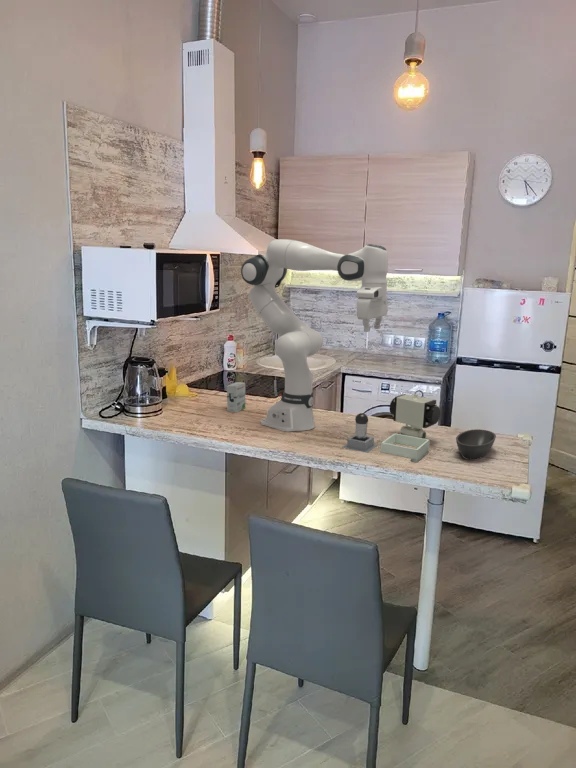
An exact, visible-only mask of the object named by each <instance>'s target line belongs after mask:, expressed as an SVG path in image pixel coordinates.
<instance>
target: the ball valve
mask: <svg viewBox="0 0 576 768" xmlns="http://www.w3.org/2000/svg"><path fill="white" fill-rule="evenodd" d="M418 395H419V394H417V393H413V395H412V394H406V393H402V394H400V395H397V396H395V397H394V398H393V399H391V401H390V404H389V412H390V414H391V415H392V417H393V418H392V419H393V420H392V421H393V422H397V423H400V424H404V425H403V426H401V428H400V431H399V434H401V435H406V436H412V437H417V438H423V439H427V438H426V436H427V432H426V431H425V430H424V429H427V428H429V427H432V426H434V425H436V424H437V423H438V422H439V420H440V418H441V407H439V406H438V404H437V400H436V399H432V398H427V397H422V396H418Z"/></svg>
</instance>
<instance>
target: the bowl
mask: <svg viewBox="0 0 576 768" xmlns="http://www.w3.org/2000/svg"><path fill="white" fill-rule="evenodd" d="M496 437H497V436H496V434H495V433H494V432H492V431H491V430H486V429H478V428H477V429H468V430H465V431H463V432H460V433H459V434H458V435H456V437H455V442H456V446H457V449H458V451H459V453H460V455H461V456H462V457H463V458H464V459H467V460H479V459H482V458H484V457H485V456H487V455H488V453H489V452H490V450H491V449H492V447H493V446H494V443H495V442H496V441H495V440H496V439H497V438H496Z"/></svg>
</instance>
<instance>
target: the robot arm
mask: <svg viewBox="0 0 576 768" xmlns="http://www.w3.org/2000/svg"><path fill="white" fill-rule="evenodd" d="M388 255H389V254H388V250H387V248H386V247H384V246H382V245H378V244H372V243H367V244H365V246H364V247H362V248H361V249H358V250H357V251H354V252H350V253H348V254H343V253H336V252H331V251H328V250H326V249H323V248H320V247H318V246H315V245H312V244H309V243H306V242H304V241H299V240H295V239H286V238H282V239H280V238H278V239H273V240H271V242H270V243H269V244H268V245H267V248H266V252H265V254H263V255H262V254H257V255H254V256H253V257H250V258H248V259H247V260H244V262H243V263H242V265H241V267H240V275H241V278H242V279H243V281H244V282H245V283H247V284H248V285H251V286H253V287H252V288H251V289H250V291H249V293H248V298H249V300H250V302H251V304H252V306H253V308H254V310H255V311H256V313H257V314H258V315H259V317H260V318H261V319H262V320H263V322H264V323H265V324H266V326H267V327H268V328H269V330H270V331H271V332H273V333H274V334H277V335H279V336H280V337H278V338H277V339H276V341H275V342H274V343H275V344H274V350H275V353H276V356H278V358H279V359H280V360H281V362H282V365H283V372H284V391H282V392H280V393H279V394H278V395H279V396H278V397H281V398H280V399H279V400H278V401H277V402H275V403H274V404H273V405H271V406H270V407H269V408H268V410H267V411H266V417H265V418H263V419H262V420H261V421H260V425H262V426H266V427H270V428H273V429H276V430H279V431H283V432H286V433H287V432H289V433H290V432H300V431H301V432H303V431H310V430H313V429H315V427H316V423H315V419H314V411H313V406H314V392H313V381H314V379H313V377H314V374H313V372H312V370H311V369H310V368H309V364H308V357H311V356H314V355H315V354H317V353H318V352H319V351H320V350H321V349H322V347H323V345H324V344H323V343H324V339H323V336H322V334H321V333H320V332H319V331H317V330H315V329H313V328H311V327H310V326H309V325H308V324H306V323H305V322H304V321H303V320H301V319H300V318H299V317H298V316H297V315H296V314H295V313H294V312H293V311H292V310H291V309H290V307H289V306H288V305H287V304H286V302H285V301H284V300H283V299H282V297H281V296H280V295H279V294H278V292H277V291H276V288H279V287H280V286H281V284H282V281H283V280H284V279H285V277H286V276H287V273H288V272H287V271H288V270H291V271H297V272H299V271H300V272H308V271H318V270H333V271H337V274H338V276H339V277H340V278H341V279H342V280H344V281H348V282H359V281H361V286H360V288H358V290H357V291H356V294H355V296H356V297H357V300H356V317H357V319H358V320H362V325H363V332H365V333H368V332H370V331H371V326H370V321H371V319H375V321H374V324H373V326H374V327H373V328H374V330H379V329H381V324H382V321H383V317H386V316H387V315H388V308H389V307H388V297H387V296H388V295H387V289H388V280H387V275H388V272H389V269H388V268H389V256H388Z"/></svg>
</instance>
